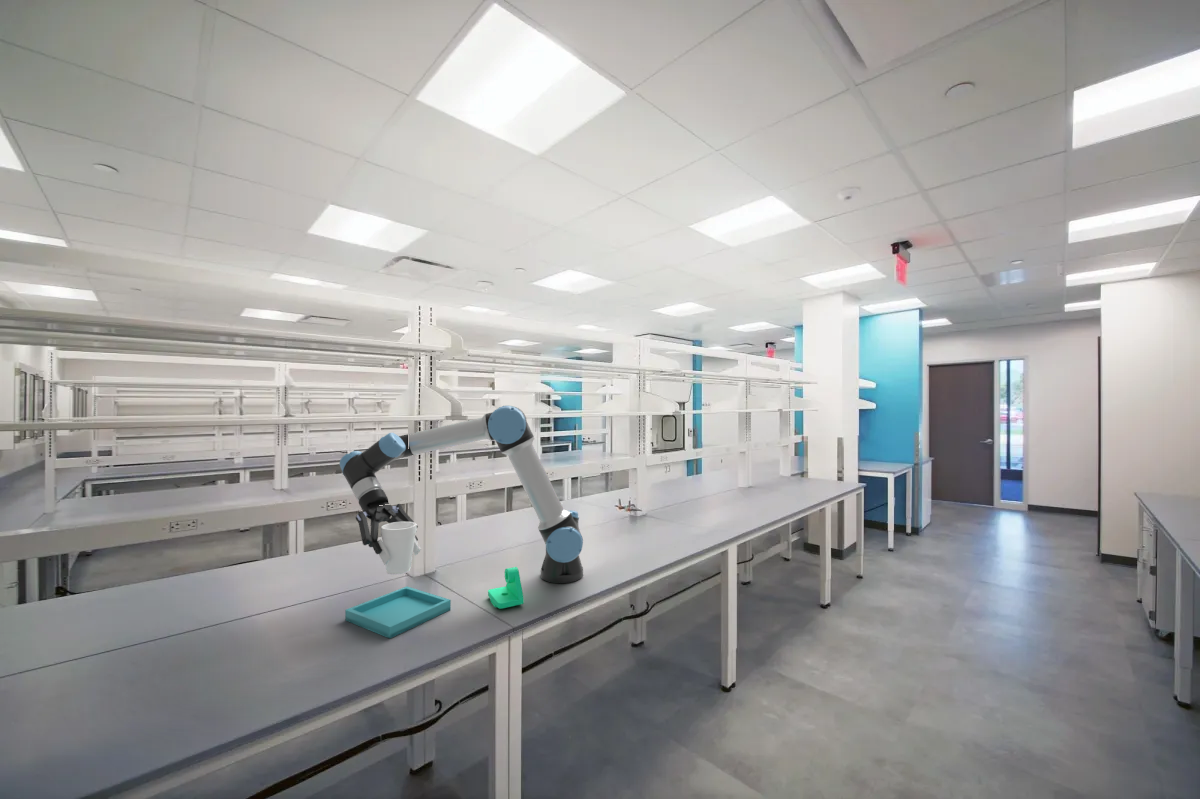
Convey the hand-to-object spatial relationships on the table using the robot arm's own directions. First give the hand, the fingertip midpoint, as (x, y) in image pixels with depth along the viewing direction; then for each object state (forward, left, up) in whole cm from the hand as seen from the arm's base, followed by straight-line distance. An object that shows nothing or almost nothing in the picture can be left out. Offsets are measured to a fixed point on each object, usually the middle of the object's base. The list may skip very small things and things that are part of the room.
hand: (403, 556), depth 134 cm
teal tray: (0, -2, -17) cm, 17 cm away
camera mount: (-23, +18, -18) cm, 34 cm away
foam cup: (0, -2, -5) cm, 5 cm away
